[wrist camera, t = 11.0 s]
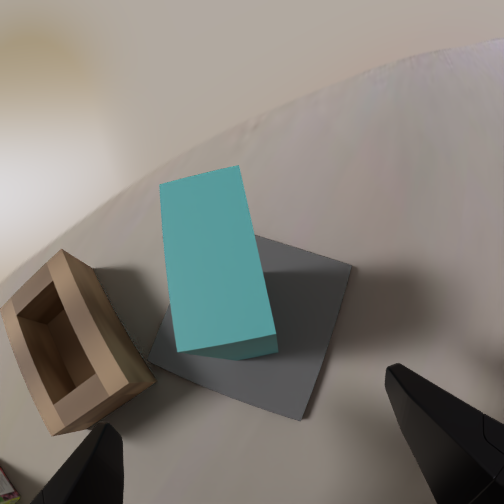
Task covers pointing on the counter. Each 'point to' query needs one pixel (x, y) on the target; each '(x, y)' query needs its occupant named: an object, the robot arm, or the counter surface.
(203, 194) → the teal block
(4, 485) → the snack box
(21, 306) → the slot box
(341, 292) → the rubber mat
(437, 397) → the robot arm
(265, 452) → the counter surface
